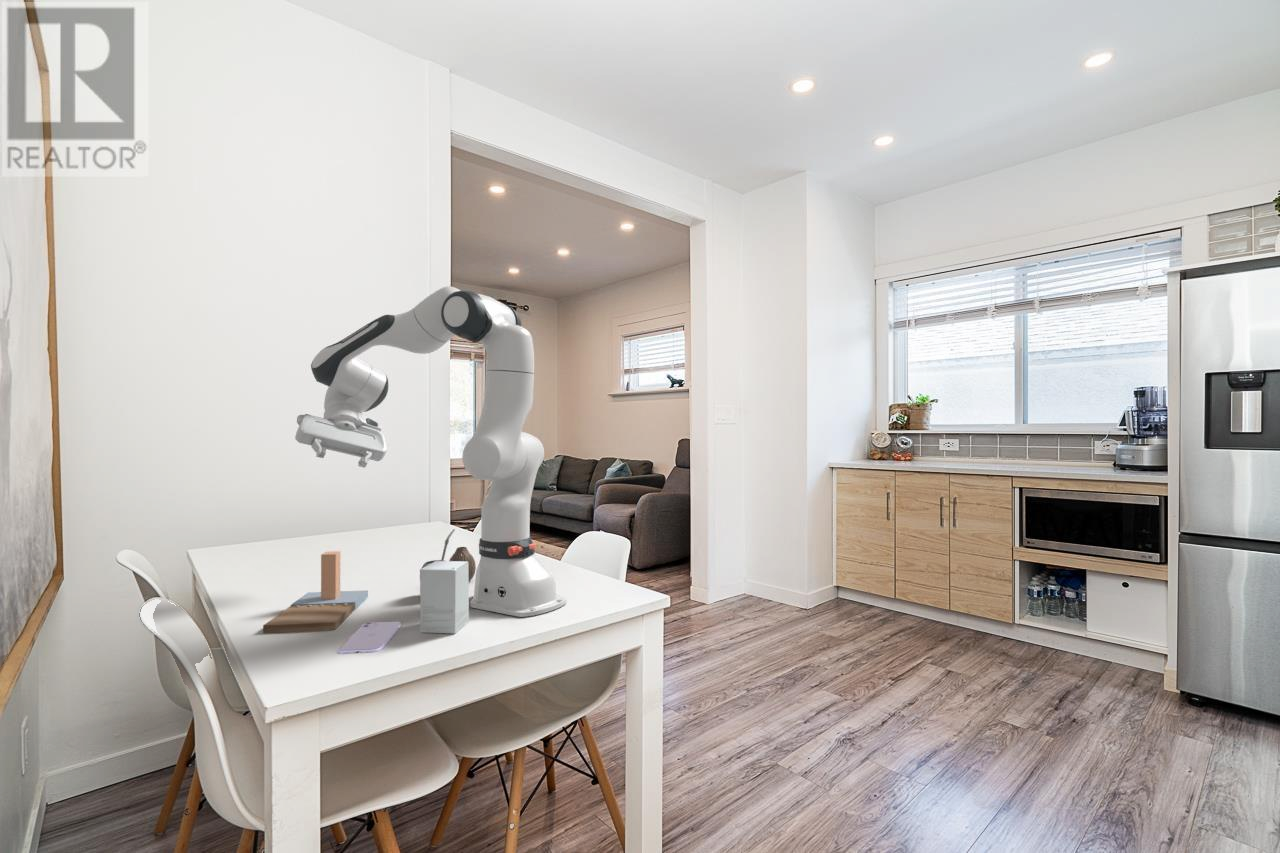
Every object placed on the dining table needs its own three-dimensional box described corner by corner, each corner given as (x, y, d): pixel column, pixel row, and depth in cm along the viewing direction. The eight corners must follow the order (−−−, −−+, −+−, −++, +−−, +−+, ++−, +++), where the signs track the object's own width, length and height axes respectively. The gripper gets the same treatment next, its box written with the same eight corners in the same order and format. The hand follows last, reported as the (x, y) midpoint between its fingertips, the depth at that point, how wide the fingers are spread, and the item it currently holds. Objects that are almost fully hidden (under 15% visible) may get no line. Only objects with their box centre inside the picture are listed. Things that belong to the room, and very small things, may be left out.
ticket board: (334, 629, 115) (334, 621, 115) (263, 633, 113) (263, 624, 113) (354, 610, 127) (354, 602, 127) (290, 612, 125) (290, 605, 125)
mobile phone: (335, 650, 104) (363, 621, 118) (335, 655, 104) (363, 626, 118) (380, 648, 105) (402, 620, 119) (380, 653, 105) (402, 624, 119)
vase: (481, 580, 152) (481, 546, 152) (460, 586, 146) (460, 551, 146) (463, 576, 155) (463, 543, 155) (441, 582, 150) (441, 548, 150)
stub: (355, 609, 127) (355, 556, 127) (290, 611, 125) (291, 558, 125) (367, 596, 136) (368, 547, 136) (308, 598, 134) (308, 549, 134)
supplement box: (469, 621, 121) (470, 560, 121) (455, 634, 113) (455, 569, 113) (435, 620, 121) (435, 559, 121) (418, 633, 114) (418, 568, 114)
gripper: (302, 402, 140) (298, 439, 130) (388, 426, 153) (390, 461, 143) (293, 422, 142) (288, 459, 133) (378, 443, 155) (380, 479, 145)
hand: (342, 460), depth 138 cm, fingers open, 8 cm apart
